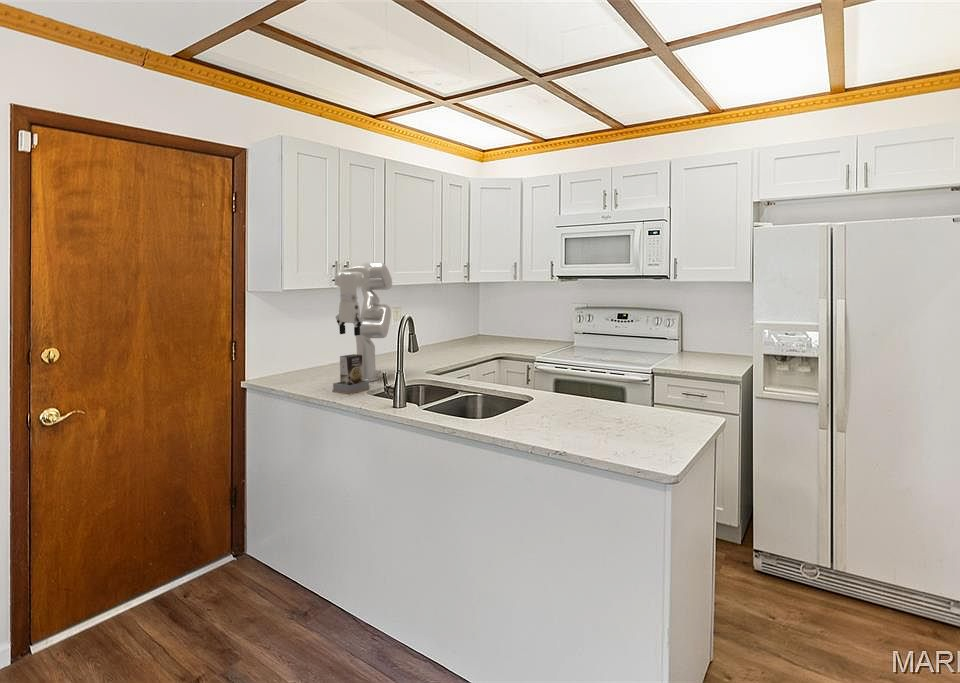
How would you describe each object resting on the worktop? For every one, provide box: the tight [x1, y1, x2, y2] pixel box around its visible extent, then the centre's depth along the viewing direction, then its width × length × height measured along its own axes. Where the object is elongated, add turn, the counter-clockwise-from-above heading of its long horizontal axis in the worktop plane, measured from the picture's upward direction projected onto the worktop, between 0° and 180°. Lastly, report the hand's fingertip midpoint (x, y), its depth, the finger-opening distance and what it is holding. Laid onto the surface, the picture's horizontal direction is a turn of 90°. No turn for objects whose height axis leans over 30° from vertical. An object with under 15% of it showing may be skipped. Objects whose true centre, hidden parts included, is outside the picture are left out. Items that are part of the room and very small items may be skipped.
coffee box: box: [339, 353, 363, 385], centre depth 272 cm, size 9×6×16 cm
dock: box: [332, 380, 371, 395], centre depth 273 cm, size 14×11×4 cm
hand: (349, 334), depth 270 cm, fingers open, 9 cm apart
